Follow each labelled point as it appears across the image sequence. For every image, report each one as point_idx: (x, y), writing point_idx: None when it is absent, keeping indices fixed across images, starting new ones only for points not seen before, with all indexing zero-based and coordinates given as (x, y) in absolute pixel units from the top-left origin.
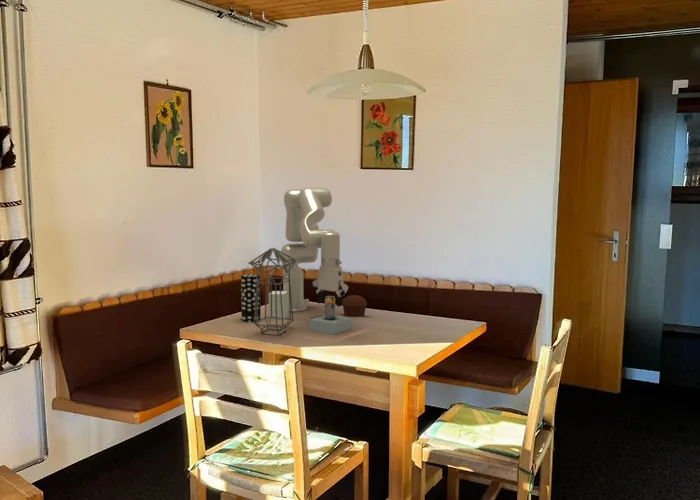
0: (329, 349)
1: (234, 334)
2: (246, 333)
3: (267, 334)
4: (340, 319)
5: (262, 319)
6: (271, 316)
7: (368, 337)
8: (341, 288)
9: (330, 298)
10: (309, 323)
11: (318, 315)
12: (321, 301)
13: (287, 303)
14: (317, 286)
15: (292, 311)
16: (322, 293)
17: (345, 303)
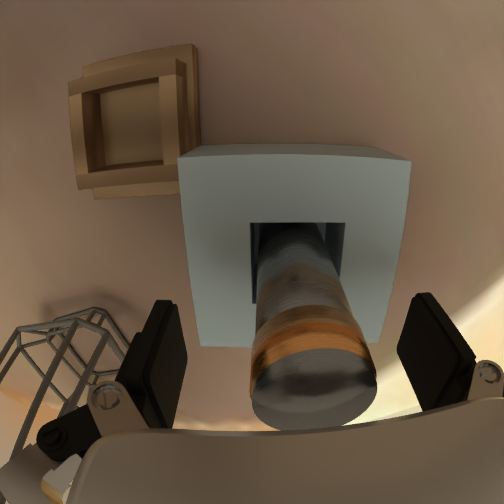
0: (402, 389)
1: (60, 392)
2: (63, 377)
3: (111, 373)
4: (369, 241)
5: (36, 366)
6: (18, 333)
7: (477, 190)
8: (499, 405)
9: (346, 416)
10: (93, 188)
11: (70, 112)
12: (179, 336)
13: None
14: (68, 463)
15: (90, 373)
16: (154, 392)
17: None
